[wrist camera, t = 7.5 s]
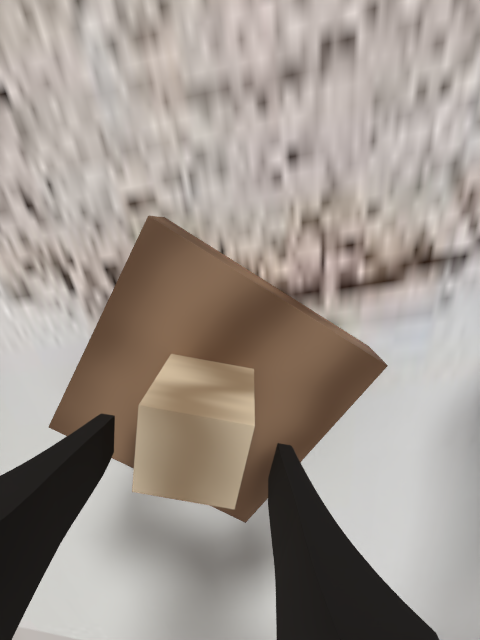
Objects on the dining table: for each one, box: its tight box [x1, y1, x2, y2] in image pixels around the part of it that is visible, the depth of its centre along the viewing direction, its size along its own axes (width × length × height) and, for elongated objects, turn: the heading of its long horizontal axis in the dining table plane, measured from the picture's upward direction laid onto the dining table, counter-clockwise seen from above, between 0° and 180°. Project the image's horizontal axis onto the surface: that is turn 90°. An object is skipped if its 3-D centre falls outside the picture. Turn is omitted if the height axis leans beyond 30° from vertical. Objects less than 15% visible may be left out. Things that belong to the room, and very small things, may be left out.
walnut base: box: [49, 216, 388, 523], centre depth 17 cm, size 14×14×2 cm
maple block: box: [132, 354, 255, 510], centre depth 13 cm, size 4×4×4 cm
